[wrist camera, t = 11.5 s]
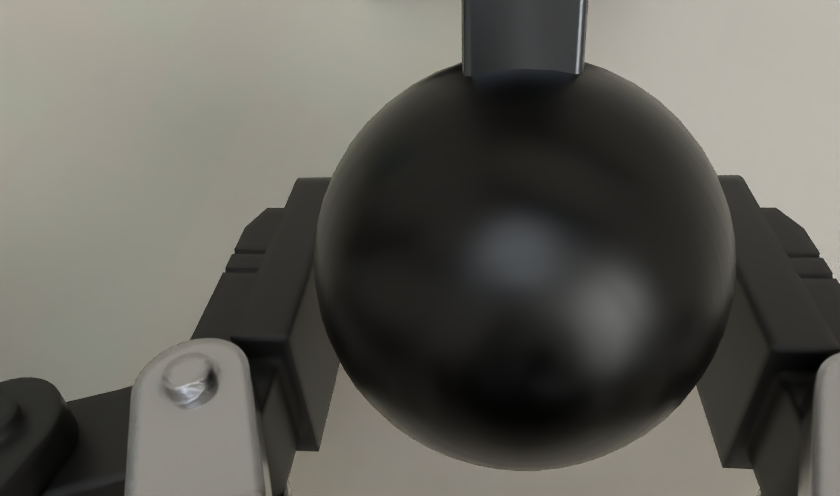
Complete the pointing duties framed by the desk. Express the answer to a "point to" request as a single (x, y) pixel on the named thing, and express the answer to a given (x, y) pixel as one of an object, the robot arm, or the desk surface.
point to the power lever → (525, 250)
